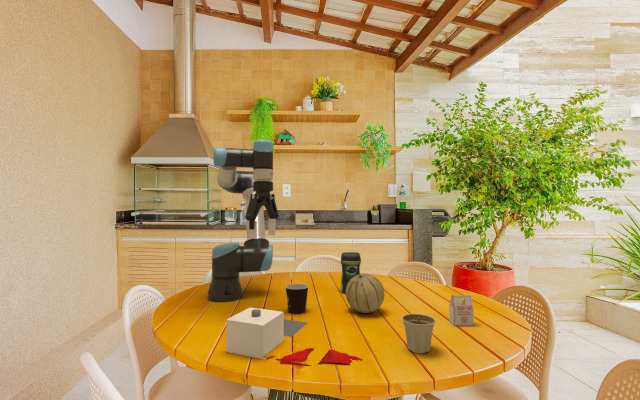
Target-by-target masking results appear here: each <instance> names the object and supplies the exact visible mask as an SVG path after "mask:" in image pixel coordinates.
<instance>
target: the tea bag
mask: <svg viewBox="0 0 640 400" xmlns="http://www.w3.org/2000/svg"><path fill="white" fill-rule="evenodd" d="M472 300H473V299H472V295H471V294H461V295H459V294H457V295H456V294H451V296H450V301H449V306H448V307H449V315H448V316H449V318H448V320H449V323H450V325H452V326H453V327H474V304H473V301H472Z"/></svg>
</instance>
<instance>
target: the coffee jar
mask: <svg viewBox="0 0 640 400" xmlns="http://www.w3.org/2000/svg"><path fill="white" fill-rule="evenodd" d="M361 263H362V258H361V253H360V252H356V251H354V252H353V251H347V252H342V253H341V256H340V264H341V281H340V292H342V293H343V294H346V287H347V284H348V282H349V281H350V279H352V278H353V277H355V276H356V275H359V274H361V271H360V270H361V269H360V266H361Z"/></svg>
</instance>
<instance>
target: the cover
mask: <svg viewBox="0 0 640 400" xmlns="http://www.w3.org/2000/svg"><path fill="white" fill-rule="evenodd" d="M284 314H285V313H284V311H279V310H271V309H266V308H265V309H264V308H256V307H248V308H246V309H243V310H242V311H241V312H239V313H237V314H235V315H233V316H231V317H229V318H227V319H226V327H225V328H226V332H225V333H226V340H225V342H226V345H225V346H226V348H225V351H226V353H231V354H236V355H240V356H245V357H251V358H255V359H260V360H264V359H266V355H268V354H269V353H270V352H271V351H273V349H275V348H277V347H278V345H279V344H281V343H282V342H283V341H284V340H285V339H284V337H285V336H284V319H285V315H284Z"/></svg>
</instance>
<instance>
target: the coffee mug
mask: <svg viewBox="0 0 640 400" xmlns="http://www.w3.org/2000/svg"><path fill="white" fill-rule="evenodd" d="M308 293H309V284H305V283H289V284H287V285H285V294H286V302H287V311H288V314H291V315H301V314H305V313H306V310H307V302H308Z"/></svg>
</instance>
